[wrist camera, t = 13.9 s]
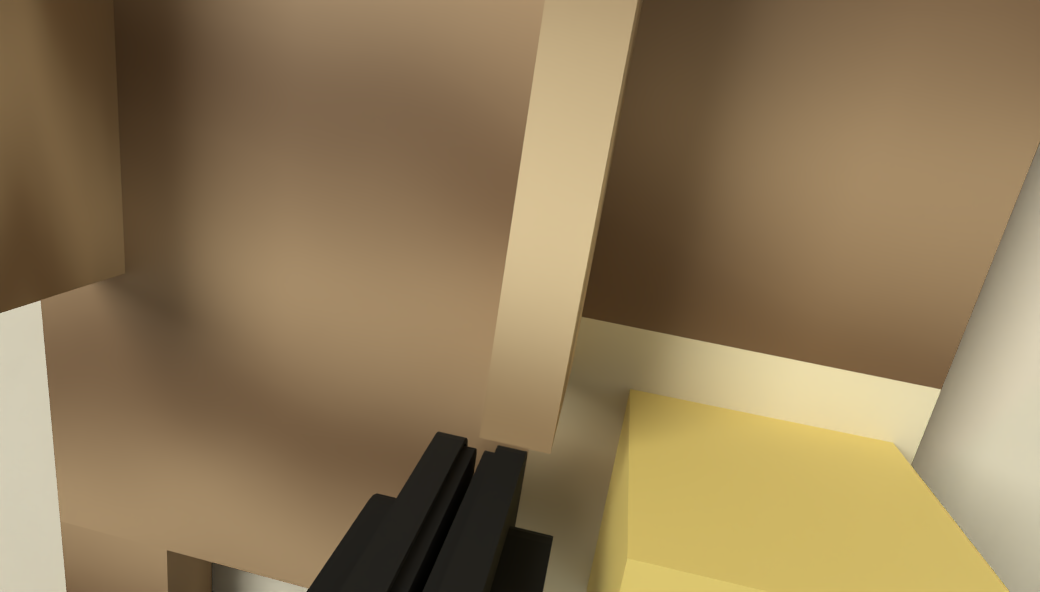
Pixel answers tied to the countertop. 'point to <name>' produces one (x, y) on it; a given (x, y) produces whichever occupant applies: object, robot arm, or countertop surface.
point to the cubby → (536, 215)
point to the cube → (770, 510)
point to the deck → (483, 249)
